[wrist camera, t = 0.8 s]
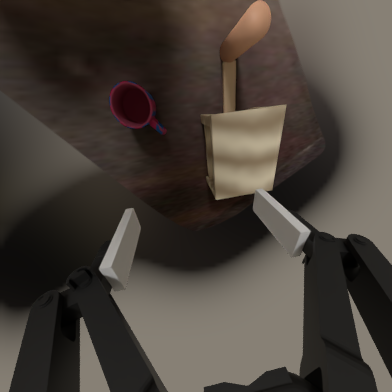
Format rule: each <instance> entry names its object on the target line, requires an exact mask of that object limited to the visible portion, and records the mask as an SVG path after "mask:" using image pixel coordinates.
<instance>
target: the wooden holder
mask: <svg viewBox="0 0 392 392" xmlns="http://www.w3.org/2000/svg"><path fill="white" fill-rule="evenodd" d="M285 111H286V105H278V106H271V107H255V108H249V110H242V111H235V112H228V113H221V114H214V115H213V114H204V115H201V123H202V124H204V130H205V142H206V155H207V167H208V176H206V181H207V183H208V185H209V187H210V189H211V191H212V193H213V195H214V197H215V199H216V200H219V199H224V198H230V197H235V196H241V195H247V194H252V193H255V190H256V189H263V190H265V191H269V190H272V187H273V182H274V176H275V170H276V164H277V158H278V152H279V146H280V140H281V134H282V128H283V122H284V117H285ZM210 130H211V132H210ZM211 146H212V149H211ZM212 163H213V165H212Z"/></svg>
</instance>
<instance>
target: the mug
mask: <svg viewBox="0 0 392 392" xmlns="http://www.w3.org/2000/svg"><path fill="white" fill-rule="evenodd" d="M109 103H110V108H111V111H112V113H113V115H114V116H115V118H116V119H117V120H118V121H119V122H120V123H121V124H123V125H124V126H126V127H128V128H132V129H139V128H142V127H144V126H146V125H148V124H149V125H150V126H151V127H153V128H154V129H155V130H156V131H157V132H159V133H160V134H162V135H165V134H166V132H167V130H166V128H165V127H164V126H163V125H162V124H161V123H160V122H159V121H158V120H157V119H156V118H155V115H156V104H155V101H154V99H153V97H152V96H151V95H150V93H149V92H147V91H146V90H145V89H144V88H142V87H141V86H140V85H138V84H136V83H134V82H131V81H122V82H119V83H118V84H116V85H115V86H114V87H113V88H112V90H111V92H110V96H109Z"/></svg>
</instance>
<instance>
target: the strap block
mask: <svg viewBox="0 0 392 392" xmlns="http://www.w3.org/2000/svg"><path fill="white" fill-rule="evenodd" d="M270 23H271V12H270V8H269V6H268V5H267V4H266V3H265V2H264V1H256V2H254V3H253V4H252V5H251V6H250V7H249V9H248V10H247V11H246V13H245V14H244V15H243V16H242V18H241V19H240V20H239V22H238V23H237V24H236V26H235V27H234V28H233V30H232V31H231V32H230V34H229V35H228V36H227V38H226V39H225V40H224V42H223V43H222V45H221V47H220V58H221V60H222V61H223V63H222V66H223V113H228V112H235V93H236V60H235V59H237V58H238V57H239V56H240V55H242V54H243V53H244V52H245V51H247V50H248V49H249V48H250V47H252V46H253V45H254V44H255V43H257V42H258V41H259V40H260V39H262V38H263V37H264V36H265V35H266V33H267V32H268V29H269V27H270ZM234 60H235V61H234Z"/></svg>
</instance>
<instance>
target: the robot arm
mask: <svg viewBox="0 0 392 392" xmlns="http://www.w3.org/2000/svg"><path fill="white" fill-rule="evenodd" d="M253 210H254V212H255V213H256V214H257V215H258V217H259V218H260V219H261V220H262V222H263V223H264V224H265V225H266V227H267V228H268V229H269V230H270V232H271V233H272V234H273V235H274V237H275V238H276V239H277V240H278V242H279V243H280V244H281V245H282V246H283V248H284V249H285V250H286V251H287V253H288V254H289V255H290V256H291V257H296V256H300V255H301V253H302V251H303V252H304V253H305V254H306V255H305V257H304V259H303V262H302V263H303V264H304V262H305V265H304V267H305V268H304V326H303V356H302V361H301V365H300V376H298V375H296V374H294V373H291V372H288V371H287V369H286V367H282V368H278V369H274V370H271V371H266V372H265V373H264V374H262V375H261V376H260V377H259V378H258V379H256V380H255V381H254V382H253V383H251V384H250V385H249V386H245V385H239V384H232V383H226V382H223V383H219V384H215V385H211V386H207V387H204V392H378V391H377V387H376V382H375V378H374V375H373V372H372V370H371V368H370V367H369V365H367V364H366V363H365V362H364V361H363V359H362V357H361V353H360V348H359V343H358V339H357V333H356V328H355V323H354V319H353V314H352V309H351V304H350V299H349V294H348V291H349V293H350V295H351V297H352V299H353V301H354V303H355V305H356V306H357V309H358V311H359V313H360V315H361V317H362V319H363V321H364V323H365V325H366V327H367V329H368V331H369V333H370V335H371V337H372V339H373V341H374V343H375V345H376V347H377V349H378V351H379V353H380V355H381V357H382V359H383V361H384V363H385V365H386V367H387V369H388V371H389V373H390V375H391V377H392V265H391V264H390V263H389V261H388V260H387V259H386V258H385V257H384V256H383V254H382V253H381V252H380V251H379V250H378V248H377V247H376V246H375V245H374V244H373V242H371V241H370V240H369V239H367V238H366V237H363V236H360V235H357V234H350V235H348V237H347V239H342V238H335V237H334V236H332V235H330V234H328V233H325V232H319V231H318V230H317V229H315V228H314V227H313V226H312V225H310V224H309V223H308V222H307V221H305V220H304V219H303V218H301V216H300V215H298V214H297V213H296V212H294V211H291V210H288V211H287V210H286V209H285V208H284V207H283V206H282V205H281V204H279V203H278V202H277V201H276V200H275V199H274V198H273V197H271V196H270V195H269V194H268V193H267V192H266V191H265V190H263V189H256V190H255V197H254V204H253ZM140 229H141V227H140V224H139V221H138V219H137V216H136V213H135V211H134V208H130V209H126V210H125V212H124V214H123V217H122V219H121V221H120V223H119V225H118V228H117V230H116V232H115V235H114V237H113V239H112V240H110V241H106V242H105V243H104V244H103V245H102V246H101V247H100V250H99V251H98V254H97V255H96V258H95V259H94V261H93V263H92V265H91V267H89V266H83V267H80V268H78V269H76V270H75V271H74V272H72V273H71V275H70V276H69V277H68V279H67V281H66V284H67V285H68V286H69V287H70V289H67V290H65V291H63V292H61V293H59V292H58V291H57V290H51V291H49V292H46V293H45V294H43V295H42V296H40V297H39V298H38V299H37V300H36V301H35V303H34V304H33V305H32V307H31V310H30V313H29V317H28V321H27V325H26V329H25V333H24V336H23V340H22V344H21V348H20V352H19V355H18V360H17V363H16V367H15V371H14V375H13V378H12V382H11V387H10V390H9V392H80V318H81V317H83V319H84V321H85V324H86V326H87V329H88V332H89V335H90V338H91V340H92V343H93V345H94V348H95V351H96V354H97V356H98V359H99V362H100V365H101V367H102V370H103V373H104V375H105V378H106V381H107V384H108V386H109V389H110V392H168V391H167V390H166V388H165V386H164V385H163V383H162V381H161V380H160V378H159V376H158V374H157V373H156V371H155V369H154V367H153V366H152V364H151V362H150V361H149V359H148V357H147V356H146V354H145V352H144V350H143V349H142V347H141V345H140V343H139V342H138V340H137V338H136V337H135V335H134V333H133V331H132V330H131V328H130V326H129V325H128V323H127V321H126V320H125V318H124V316H123V314H122V313H121V311H120V309H119V307H118V306H117V304H116V303H115V301H114V299H113V297H112V296H111V294H110V291H111V288H113V289H114V291H120V290H125V289H126V285H127V281H128V277H129V273H130V269H131V265H132V261H133V257H134V254H135V249H136V246H137V242H138V238H139V234H140ZM347 289H348V290H347Z"/></svg>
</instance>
